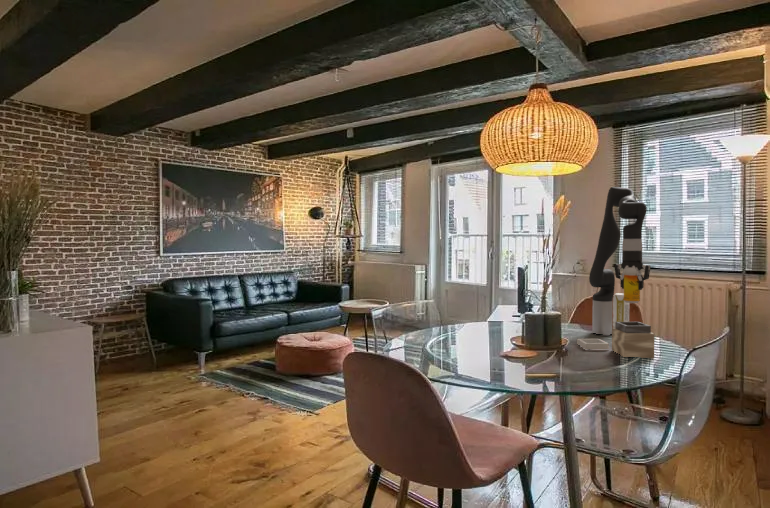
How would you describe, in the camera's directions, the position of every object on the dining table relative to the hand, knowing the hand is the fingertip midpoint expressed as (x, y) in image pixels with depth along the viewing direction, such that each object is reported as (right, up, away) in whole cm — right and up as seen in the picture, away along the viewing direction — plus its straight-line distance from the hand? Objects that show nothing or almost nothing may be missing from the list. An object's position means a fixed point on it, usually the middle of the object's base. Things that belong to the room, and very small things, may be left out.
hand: (631, 289), depth 205 cm
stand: (+1, -28, +1) cm, 28 cm away
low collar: (-11, -27, +13) cm, 32 cm away
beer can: (0, -6, 0) cm, 6 cm away
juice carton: (+22, -26, +54) cm, 64 cm away
